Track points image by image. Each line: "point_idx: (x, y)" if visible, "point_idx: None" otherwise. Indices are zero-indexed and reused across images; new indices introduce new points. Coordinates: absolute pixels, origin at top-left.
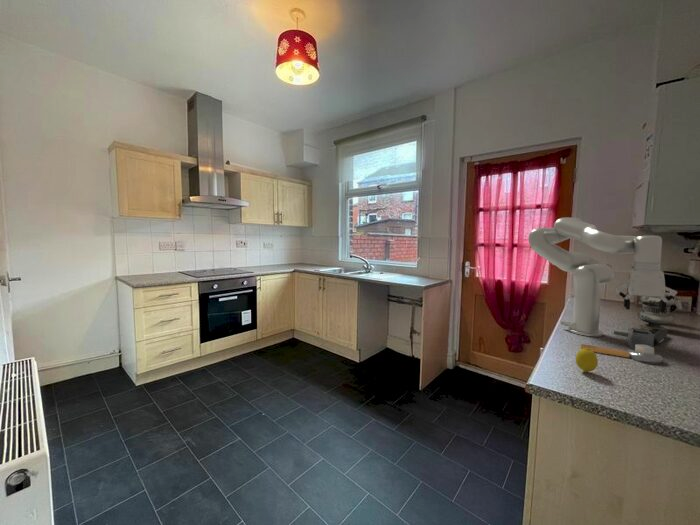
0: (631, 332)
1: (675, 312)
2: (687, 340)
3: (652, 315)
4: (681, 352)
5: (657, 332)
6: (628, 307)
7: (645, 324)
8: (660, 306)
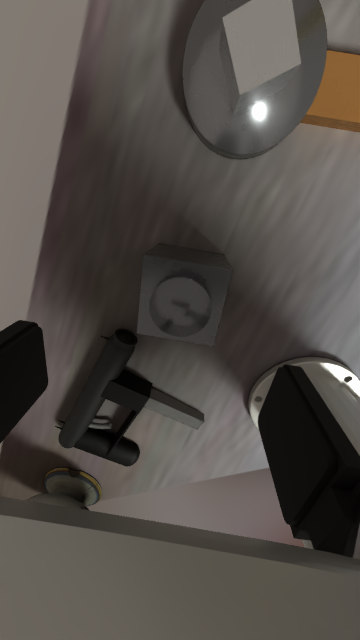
0: (228, 283)
1: None
2: None
3: None
4: (67, 277)
5: (84, 422)
6: (298, 377)
7: (86, 502)
8: (6, 385)
